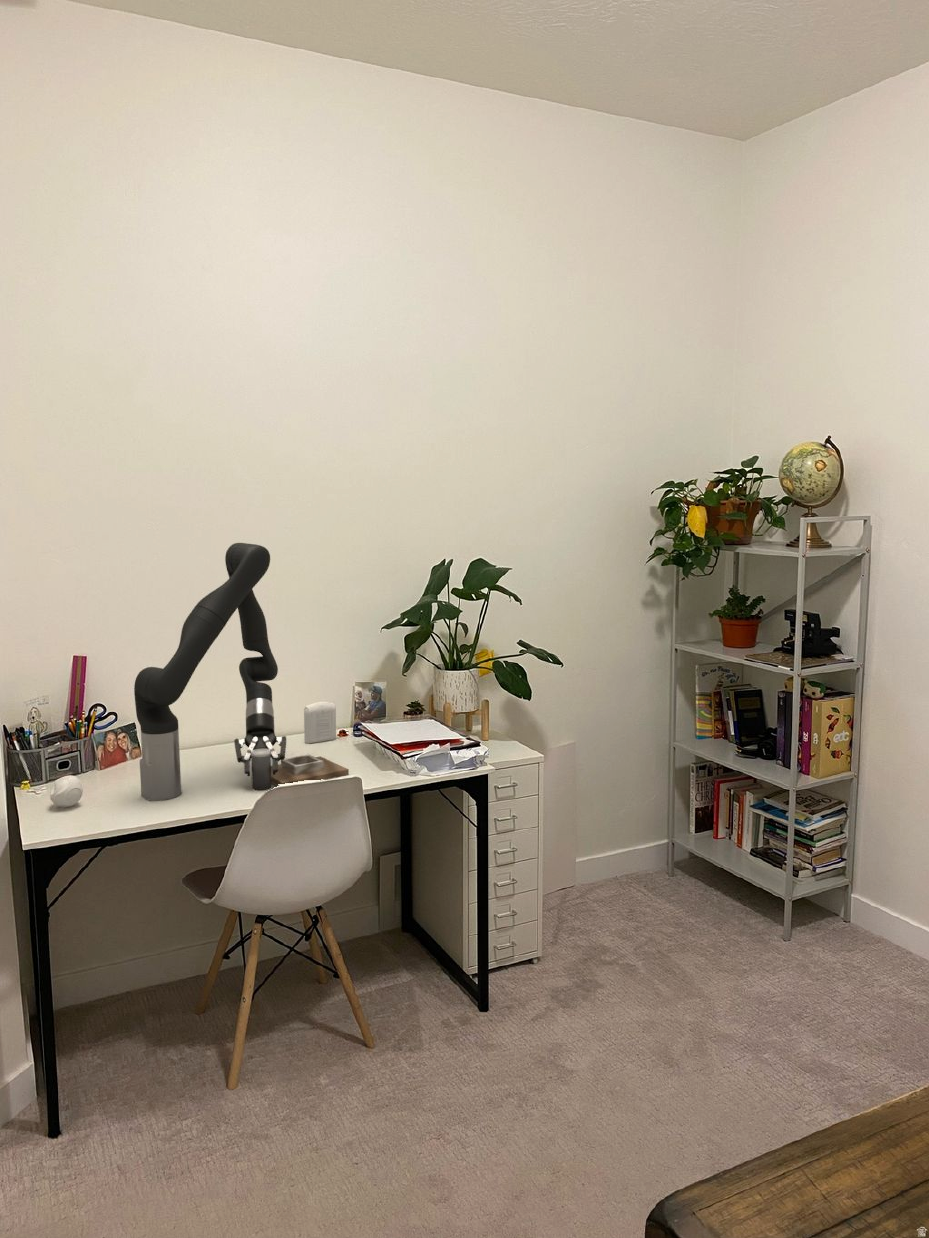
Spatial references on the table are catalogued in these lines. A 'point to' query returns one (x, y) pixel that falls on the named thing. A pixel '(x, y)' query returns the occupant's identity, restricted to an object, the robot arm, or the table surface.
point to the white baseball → (66, 791)
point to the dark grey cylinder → (261, 769)
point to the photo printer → (319, 722)
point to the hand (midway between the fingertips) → (261, 773)
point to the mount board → (306, 769)
